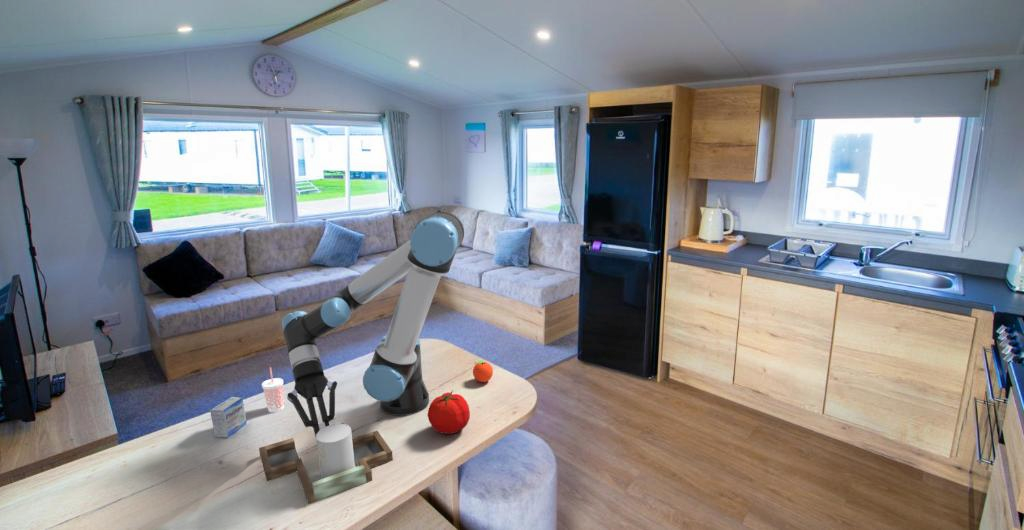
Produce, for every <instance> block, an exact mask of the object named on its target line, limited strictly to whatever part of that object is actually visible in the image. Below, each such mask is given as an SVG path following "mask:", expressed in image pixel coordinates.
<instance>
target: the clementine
mask: <svg viewBox="0 0 1024 530" xmlns="http://www.w3.org/2000/svg"><path fill="white" fill-rule="evenodd" d="M493 374H494V370H493V367H492V365H491V364H490V363H489V362H488V361H482V360H478V361H475V362H474V367H473V368H472V375H473V378H474V380H476V381H477V382H479V383H486V382H488V381H489V380H491V379H492V377H493Z"/></svg>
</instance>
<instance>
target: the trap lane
mask: <svg viewBox="0 0 1024 530" xmlns="http://www.w3.org/2000/svg"><path fill="white" fill-rule="evenodd" d="M340 424H344V422H341V423H340ZM352 442H353V452H354V462H355V464H356V466H355V468H352V469H349V470H346V471H344V472H341V473H338V474H335V475H332V476H329V477H326V478H323V479H321V478H320V479H318V480H314V481H313V482H311V481H310V479H309V476H308V473H307V470H306V467H305V465H304V462H303V459H302V457H299V455H298V452H297V449H296V443H295V439H294V437H291V438H288V439H285V440H282V441H278V442H275V443H271V444H268V445H264V446H261V447H259V448H258V451H259V456H260V457H259V458H260V460H261V464H262V468H263V472H264V476H265V480H266V482H270V481H273V480H276V479H278V478H279V479H280V478H281V477H286V476H288V475H290V474H294V473H297V476H298V478H299V481H300V484H301V486H302V491H303V493H304V495H305V498H306V500H307V504H311V503H313V502H316V501H318V500H322V499H324V498H327V497H330V496H332V495H335V494H338V493H341V492H343V491H346V490H349V489H352V488H355V487H358V486H360V485H363V484H366V483H368V482H371V481H373V473H372V468H375V467H376V466H380V465H383V464H385V463H388V462H391V461H393V459H394V458H393V450H392V449H391V448H390V446H389V445H388V443H387V442H386V440H385V439H384V437H383V436H382V435H381V433H380V432H379V430H374V431H371V432H369V433H365V434H362V435H359V436H356V437H352ZM374 466H375V467H374Z"/></svg>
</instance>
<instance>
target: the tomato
mask: <svg viewBox="0 0 1024 530" xmlns="http://www.w3.org/2000/svg"><path fill="white" fill-rule="evenodd" d="M453 392H454V390H452V391H451V392H444V393H443V394H442V395H439V396H437V397H435V398H434V399H433V400H432V401H431V403H430V404H429V407H428V410H427V418H428V421H429V423H430V425H431V428H433V429H434V430H435V431H436V432H438V433H441V434H446V435H451V434H455V433H457V432H459V431H461V430H463V429H464V428H465V427H466V426H467V425H468V423H469V420H470V419H471V418H470V416H471V415H470V414H471V411H470V406H469V404H468V402H467V399H465V397H463V395H461V394H458V393H455V394H454V393H453Z"/></svg>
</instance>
